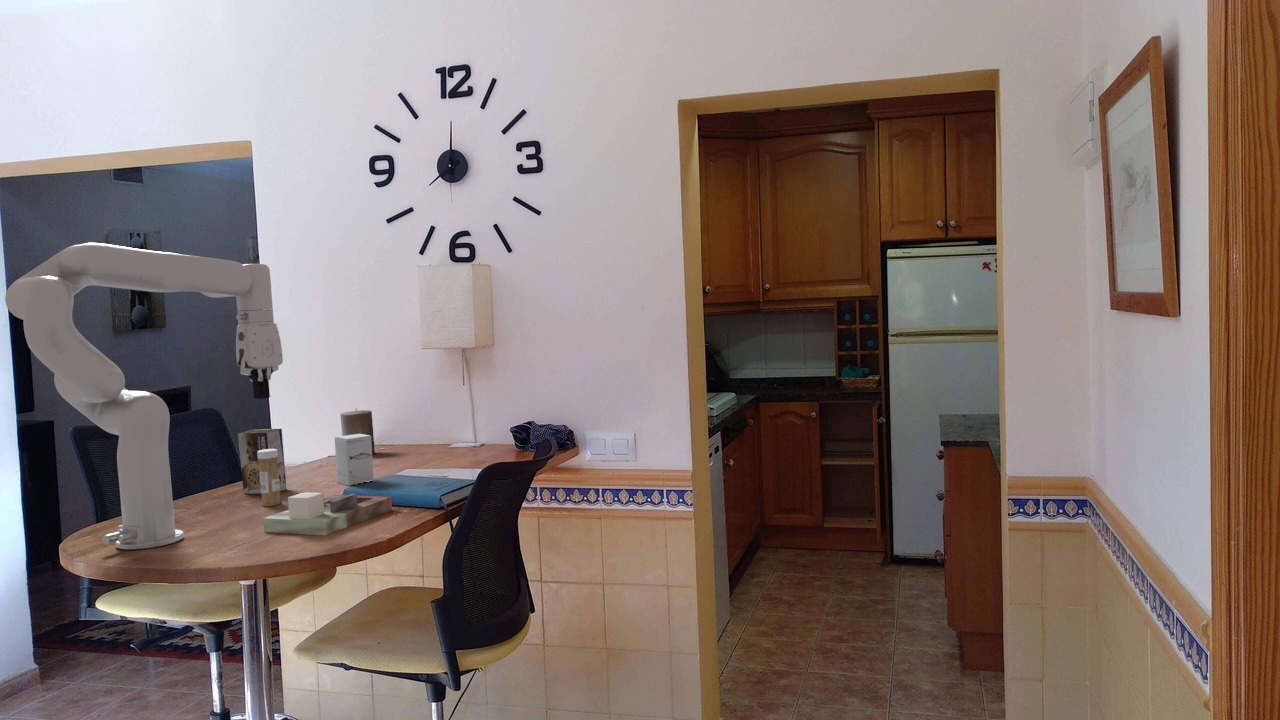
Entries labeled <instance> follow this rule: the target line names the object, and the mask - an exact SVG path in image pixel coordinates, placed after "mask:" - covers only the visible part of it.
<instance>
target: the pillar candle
mask: <svg viewBox="0 0 1280 720" xmlns="http://www.w3.org/2000/svg"><path fill="white" fill-rule="evenodd" d="M339 416H340V422H341V423H340V424H341V425H340V426H341V436H346V435H354V434H365V435H370V436H371V443H372V455H375V454H376V451H375V439H374V426H373V412H372V410H369V409H368V410H367V409H365V410H357V407H355V410H353V411H345V412H343V413H342V412H341V413H340V415H339Z"/></svg>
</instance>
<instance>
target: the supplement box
mask: <svg viewBox="0 0 1280 720" xmlns="http://www.w3.org/2000/svg"><path fill="white" fill-rule="evenodd" d="M334 448H335V449H334V450H335V465H336V479H337V480H336V481H337V483H338V484H341V485H344V486H348V487H350V486H353V484H354V485H359V484H358V483H361V484H363V483H362V482H365V481H369V480H373V479H374V480H375V478H374V476H375V475H374V474H375V473H374V464H373V463H374V462H373V454H372V443H371V436H370V435H365V434H354V435H346V436H342V435H340V436H335V437H334Z"/></svg>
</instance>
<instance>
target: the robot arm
mask: <svg viewBox="0 0 1280 720" xmlns="http://www.w3.org/2000/svg"><path fill="white" fill-rule="evenodd" d="M90 286H97V287H104V288H105V287H107V288H115V289H123V290H124V289H125V290H132V291H133V290H134V291H140V292H141V291H142V292H149V293H151V292H152V293H175V292H193V293H194V292H197V293H201V294H202V295H204V296H206V297H209V298H215V299H216V298H217V299H218V298H228V297H229V298H230V297H236V298H235V299H236V311H237V314H236V317H235V318H236V320H237V321H238V322H237V323H238V325H236V335H235V336H236V337H235V355H236V356H235V357H236V363H237V367H238V368H240V370H239V371H240V372H239V373H240V375H244V376H247V377H248V378H249V381H250V382H252V389H253V390H252V391H253V399H255V400H258V399H259V400H261V399H262V400H265V399H269V398H271V396H270V395H271V394H270V393H271V392H270V381H271V379H272V378H271V377H272V375H273V373H274V372H277V371H278V370H279V366H280V365H283V361H284V359H283V349H282V342H281V341H282V340H281V336H280V332H279V328H278V325H277V323H275V322H274V321H275V320H274V319H275V318H274V307H273V295H272V282H271V271H270V267H269V266H268V265H267V264H265V263H244V264H243V263H241V262H240V261H234V260H229V259H222V258H216V257H215V258H214V257H208V256H207V257H206V256H198V255H187V254H180V253H174V252H166V251H165V252H163V251H157V250H150V249H149V250H148V249H141V248H133V247H127V246H121V245H120V246H119V245H116V244H115V245H114V244H108V243H98V242H86V243H81V244H75V245H70V246H68V247H66V248H65V249H62V250H61V251H59V252H58V253H56V254H55V255H53V256H52V257H50V258H48V259H47V260H46V261H44V262H42V263H40V265H38V266H36V267H35V268H33V269H32V270H30V271H28V272H27V273H26V274H24V275H22V276H21V277H19V278H18V279H16V280H14V281H13V283H11V284H10V286H9V287H8V289H7V290H6V292H5V295H4V296H5V298H4V301H5V306H6V308H7V309H8V311H9V312H10V313H11V314H12V315H13V316H14V317H16V318H17V319H20V320H23V331H24V337H25V340H26V343H27V347H28V348H29V349H30V351H31V352H32V353H33V355H34V356H35V357H36V358H37V359H38V360H39V361H40V362H41V363H42V364H43V365H44V366H46V367H47V369H48V370H49V371H51V372H52V373H53V375H54V377H53V382H54V386H55V388H56V390H57V391H56V392H57V393H58V394H59V395H60V396H61V398H62V399H64V400H65V401H66V402H67V403H68V404H70V405H71V406H72V407H73V408H75V409H76V410H77V411H78V412H79V413H81V415H83V416H84V417H86V418H87V419H88V420H90V421H91V422H92V423H93V424H94V425H96V426H97V427H99V428H100V429H102V430H103V431H105V432H107V433H109V434H111V435H115V436H118V444H117V449H116V450H117V451H116V462H117V463H116V464H117V475H118V485H119V496H120V508H121V518H122V519H121V520H122V524H120V525H118V526H117V527H118V529H117V530H116V531H115V532H112V533H111V532H110V533H108V534H104V535H102V542H103V544H104V545H110V544H113V543H115V547H116V548H118V549H120V550H143V549H152V548H156V547H162V546H166V545H170V544H174V543H177V542H179V541H181V540H182V539H183V538H184V536H185V535H184V531H183V530H181V529H177V528H176V526H175V515H174V514H175V512H174V502H173V500H174V499H173V491H172V490H173V489H172V479H171V478H172V477H171V467H170V457H169V432H170V423H171V417H170V412H169V407H168V405H167V403H166V402H165V401H164V399H162V398H161V397H160V396H158V395H157V394H155V393H153V392H149V391H145V390H144V391H142V390H129V389H127V388H126V387H125V386H126V378H125V375H124V373H123V371H122V369H121V368H120V367H119V366H118V365H117V364H115V362H113V361H112V360H111V359H110V358H109V357H108V356H106V355H105V354H104V353H102V351H100V350H99V349H98V348H96V347H95V346H94V345H93V344H92V343H90V342H89V341H88V340H87V339H86V338H85V336H83V334H81V333H80V332H79V330H78V329H77V328H76V326H75V324H74V320H73V308H74V301H75V299H74V298H75V297H74V296H75V295H76V294H78V293H79V292H81V290H83V289H84V288H86V287H90Z"/></svg>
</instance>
